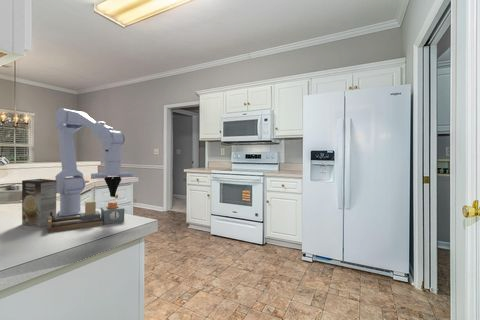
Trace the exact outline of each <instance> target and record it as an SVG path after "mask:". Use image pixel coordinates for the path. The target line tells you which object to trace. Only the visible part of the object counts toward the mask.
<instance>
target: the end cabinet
mask: <svg viewBox="0 0 480 320" xmlns="http://www.w3.org/2000/svg"><path fill="white" fill-rule="evenodd" d="M100 214H101V218H102V217H103V225H106V224H113V223H114V224H115V223H121V222H125V207H124V206H123V205H119V204H117V208H116V209H108V205H107V206H101V207H100Z"/></svg>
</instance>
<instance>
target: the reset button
mask: <svg viewBox="0 0 480 320" xmlns="http://www.w3.org/2000/svg"><path fill="white" fill-rule="evenodd" d="M117 205H118V201H110V202H107V206H108V209H116V208H117Z"/></svg>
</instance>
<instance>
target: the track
mask: <svg viewBox="0 0 480 320" xmlns="http://www.w3.org/2000/svg"><path fill="white" fill-rule="evenodd" d="M98 226H104V223H103V217H102V218H94V219H86V220H81V219H80V215H74V216H65V217H59V218H57V217H56V219H52V216H48V225H47V233H55V232H64V231H70V230H76V229H85V228H90V227H98Z"/></svg>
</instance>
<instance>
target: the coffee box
mask: <svg viewBox="0 0 480 320" xmlns="http://www.w3.org/2000/svg"><path fill="white" fill-rule="evenodd" d="M56 184H57V180H56V179H46V178H36V179H35V178H34V179H26V180H22V181H21V186H22V187H21V208H22V209H21V224H22V225H26V226H32V227H38V228H39V227H44V226H48V216H52V219H57V191H56V186H57V185H56Z"/></svg>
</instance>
